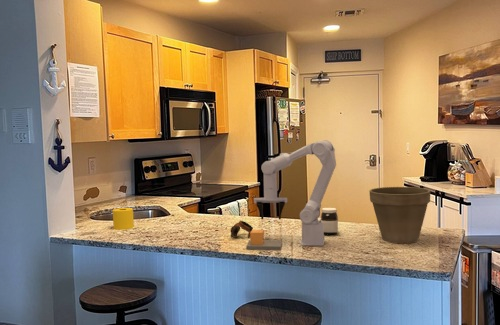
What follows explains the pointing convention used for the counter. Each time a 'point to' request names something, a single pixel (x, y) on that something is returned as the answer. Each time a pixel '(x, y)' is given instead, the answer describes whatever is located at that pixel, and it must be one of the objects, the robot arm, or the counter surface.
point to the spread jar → (329, 221)
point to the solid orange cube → (257, 237)
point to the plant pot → (400, 212)
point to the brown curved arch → (243, 225)
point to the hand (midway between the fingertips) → (271, 219)
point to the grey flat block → (265, 245)
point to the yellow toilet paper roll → (123, 218)
